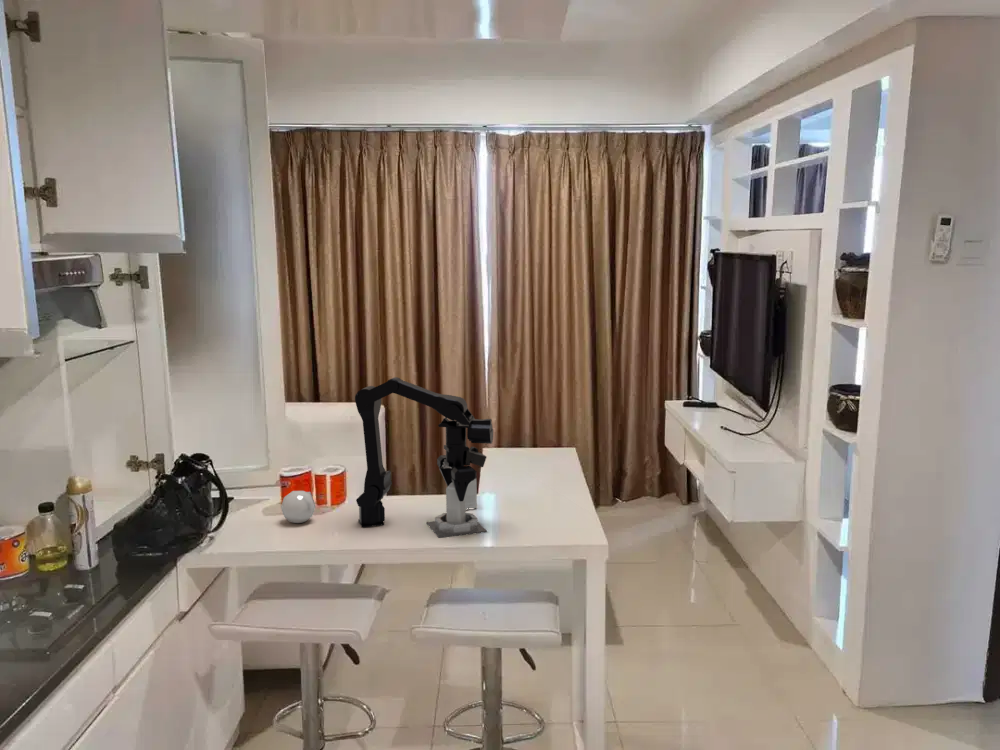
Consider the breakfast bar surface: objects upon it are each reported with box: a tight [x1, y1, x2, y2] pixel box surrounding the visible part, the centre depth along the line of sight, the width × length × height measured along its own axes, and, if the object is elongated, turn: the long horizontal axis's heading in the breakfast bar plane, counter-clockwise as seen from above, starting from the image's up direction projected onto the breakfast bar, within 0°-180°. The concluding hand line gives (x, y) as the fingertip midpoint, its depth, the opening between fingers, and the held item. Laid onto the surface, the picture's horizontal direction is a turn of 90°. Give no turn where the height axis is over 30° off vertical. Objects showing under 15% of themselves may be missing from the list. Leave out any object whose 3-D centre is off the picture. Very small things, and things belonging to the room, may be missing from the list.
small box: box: [465, 478, 478, 509], centre depth 232 cm, size 8×6×10 cm
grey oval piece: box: [280, 490, 316, 524], centre depth 220 cm, size 9×10×15 cm
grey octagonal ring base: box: [426, 512, 488, 539], centre depth 213 cm, size 14×13×3 cm
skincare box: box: [445, 483, 467, 524], centre depth 213 cm, size 6×4×12 cm
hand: (456, 496), depth 212 cm, fingers open, 9 cm apart
